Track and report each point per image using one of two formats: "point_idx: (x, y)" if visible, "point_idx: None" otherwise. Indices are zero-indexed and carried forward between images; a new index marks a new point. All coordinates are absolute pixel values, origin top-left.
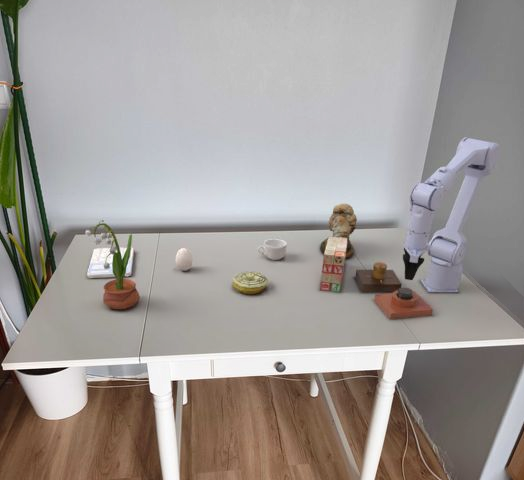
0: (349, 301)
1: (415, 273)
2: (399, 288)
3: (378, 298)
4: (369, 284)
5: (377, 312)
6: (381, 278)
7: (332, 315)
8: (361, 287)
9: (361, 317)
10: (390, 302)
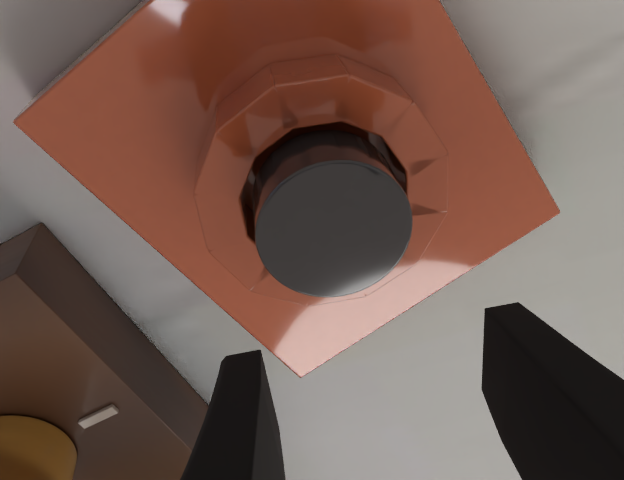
0: (378, 440)
1: (619, 378)
2: (40, 257)
3: (350, 344)
4: None
5: (457, 280)
6: (54, 433)
7: None
8: None
9: None
10: None
